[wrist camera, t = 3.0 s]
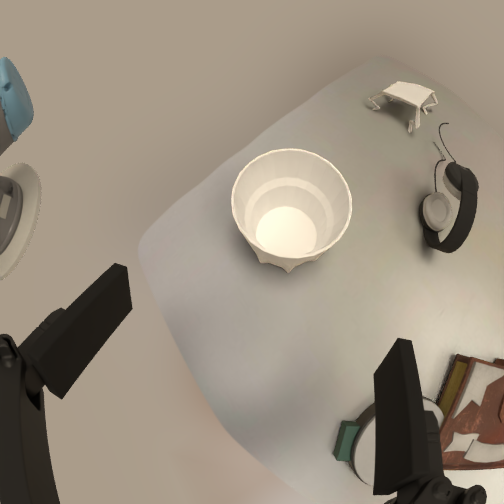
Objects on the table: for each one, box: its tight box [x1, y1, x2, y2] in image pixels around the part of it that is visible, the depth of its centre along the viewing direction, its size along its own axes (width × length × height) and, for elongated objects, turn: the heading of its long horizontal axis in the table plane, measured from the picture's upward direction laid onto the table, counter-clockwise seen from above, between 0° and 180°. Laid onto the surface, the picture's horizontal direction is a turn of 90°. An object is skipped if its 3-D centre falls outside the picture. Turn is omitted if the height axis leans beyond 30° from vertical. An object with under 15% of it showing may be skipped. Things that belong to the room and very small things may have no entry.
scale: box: [333, 396, 444, 487], centre depth 25 cm, size 13×12×3 cm
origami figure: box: [368, 81, 439, 133], centre depth 35 cm, size 12×8×5 cm
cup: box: [231, 148, 352, 273], centre depth 28 cm, size 10×10×10 cm
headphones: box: [420, 123, 479, 253], centre depth 30 cm, size 10×4×20 cm
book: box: [437, 354, 504, 470], centre depth 23 cm, size 23×16×5 cm
